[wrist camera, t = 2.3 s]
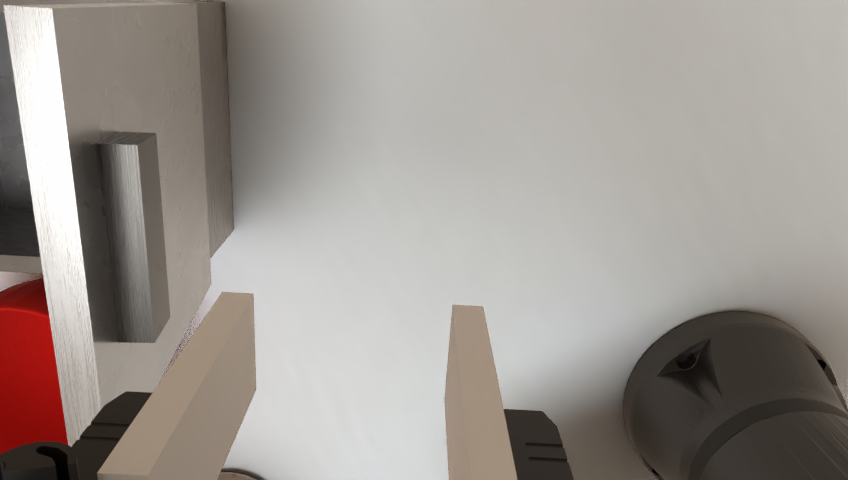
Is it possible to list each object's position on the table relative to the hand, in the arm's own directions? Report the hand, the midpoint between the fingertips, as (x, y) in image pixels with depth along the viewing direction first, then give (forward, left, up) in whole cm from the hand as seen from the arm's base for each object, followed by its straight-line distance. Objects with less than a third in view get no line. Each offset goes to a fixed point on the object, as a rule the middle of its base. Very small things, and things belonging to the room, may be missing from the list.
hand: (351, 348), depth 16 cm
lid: (+10, 0, -12) cm, 15 cm away
